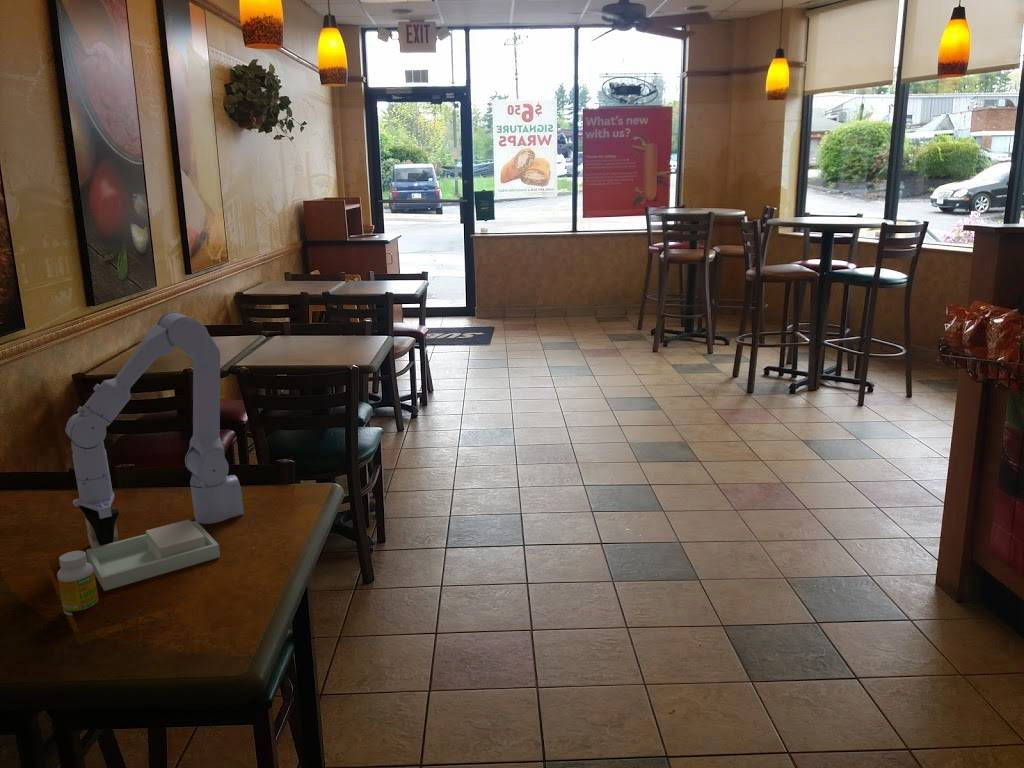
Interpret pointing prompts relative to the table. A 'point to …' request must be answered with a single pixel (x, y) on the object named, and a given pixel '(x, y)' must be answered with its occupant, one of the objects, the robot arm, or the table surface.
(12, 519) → the table surface
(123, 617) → the table surface
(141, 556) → the pale green tray
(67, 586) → the supplement bottle
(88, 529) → the maple block
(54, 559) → the table surface
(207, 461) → the robot arm
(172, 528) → the light gray block
